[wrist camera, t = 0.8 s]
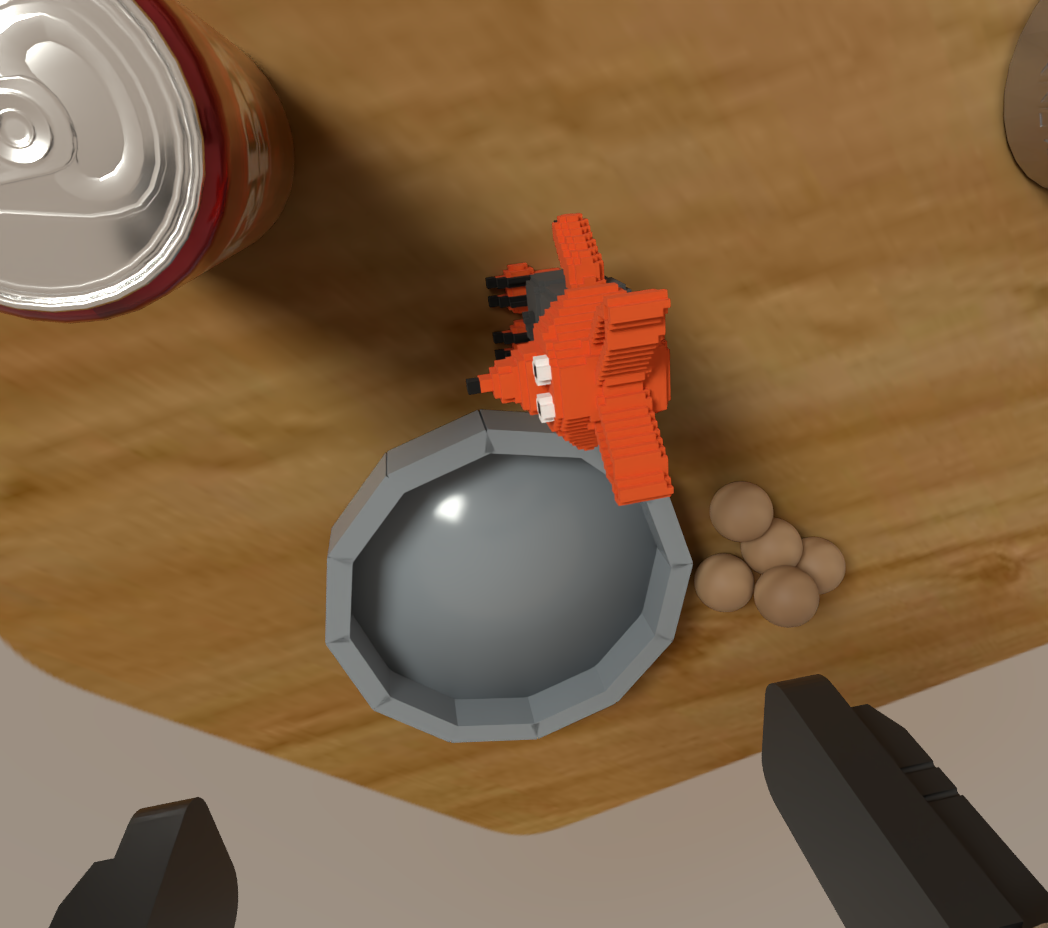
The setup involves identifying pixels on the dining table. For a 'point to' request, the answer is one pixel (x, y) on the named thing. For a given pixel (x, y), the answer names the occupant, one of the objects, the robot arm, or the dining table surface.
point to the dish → (499, 582)
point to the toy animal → (587, 360)
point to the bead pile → (765, 560)
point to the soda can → (127, 155)
